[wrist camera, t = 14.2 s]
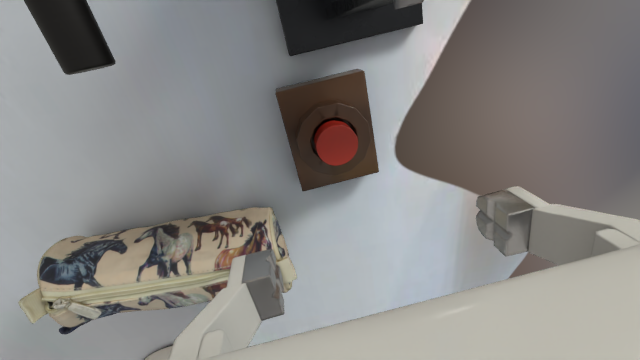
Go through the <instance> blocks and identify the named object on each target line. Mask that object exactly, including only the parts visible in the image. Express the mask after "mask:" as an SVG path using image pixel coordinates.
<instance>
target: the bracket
mask: <svg viewBox="0 0 640 360" xmlns="http://www.w3.org/2000/svg"><path fill="white" fill-rule="evenodd" d="M423 1H424V0H276V3H277V7H278V11H279V15H280V19H281V23H282V27H283V31H284V36H285V40H286V44H287V48H288V52H289V55H290V56H292V55H297V54H301V53H305V52H309V51H313V50H317V49H321V48H325V47H329V46H333V45H337V44H342V43H346V42H350V41H354V40H358V39H362V38H366V37H370V36H374V35H378V34H383V33H387V32H391V31H395V30H399V29H403V28H407V27H411V26H415V25H419V24H423V16H422V2H423Z"/></svg>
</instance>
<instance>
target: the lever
mask: <svg viewBox="0 0 640 360" xmlns="http://www.w3.org/2000/svg"><path fill="white" fill-rule="evenodd" d="M24 1H25V3H26V5H27V7H28V9H29V10H30V12H31V14H32V16H33V18H34V19H35V21H36V23H37V25H38V27H39V28H40V30H41V32H42V34H43V36H44V37H45V39H46V41H47V43H48V45H49V46H50V48H51V50H52V52H53V54H54V55H55V57H56V59H57V61H58V63H59V64H60V66H61V68H62V70H63V72H64V73H65V74H68V75H71V74H77V73H82V72H87V71H91V70H96V69H100V68H104V67H108V66H112V65H114V64H115V59H114V57H113V55H112V53H111V51H110V49H109V47H108V45H107V43H106V41H105V38H104V36H103V34H102V32H101V30H100V28H99V26H98V24H97V22H96V20H95V18H94V15H93V13H92V11H91V9H90V7H89V5H88V3H87V1H86V0H24Z"/></svg>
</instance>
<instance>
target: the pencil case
mask: <svg viewBox="0 0 640 360" xmlns="http://www.w3.org/2000/svg"><path fill="white" fill-rule="evenodd" d="M268 249H273V250H274V253H275V256H276V265H278V266H279V267H280V270H281V274H282V278H283V284H284V291H283V293H286V292H288V291H289V290H290V289H291V287H292V281H293V280H296V279H297V276H296V272H295V269H294V266H293V264H292V262H291V260H290V258H289V254H288V250H287V247H286V243H285V240H284V237H283V235H282V232H281V229H280V227H279V224H278V221H277V219H276V218H275V215H274V212H273V209H272V208H271V207H268V208H257V207H253V208H246V209H240V210H234V211H229V212H222V213H217V214H213V215H209V216H203V217H197V218H188V219H181V220H176V221H171V222H167V223H163V224H159V225H155V226H151V227H141V228H134V229H128V230H123V231H118V232H113V233H109V234H105V235H97V236H91V237H84V236H73V237H69V238H65V239H63V240H61V241H59V242H57V243H56V244H54V245H53V246H52V247H50V248H49V249H48V250H47V251H46V252H45V253H44V255H43V256H42V258H41V260H40V262H39V265H38V271H37V278H38V284H39V287H40V288H39V289H36V290H35V291H33V292H31V293H30V294H28V295H27V296H25V297H24V298H22V299H21V300H20V301H19V302H18V303H19V305H20V307H21V309H22V310H23V311H24V312H25V314H26V316H27V317H28V319H29V321H30V322H31V323H32V324H33V323H35V322H36V321H37V320H38V319H39V318H41V317H42V316H44V315H46V314H47V313H49V316H50V317H52V318H53V319H54V320H55V321H56V322H57V323H58V324H60V325H62V326H63V327H62V328H60V329H59V332H60V333H61V334H68V333H71V332H72V331H74V330H75V329H76V328H78V327H79V326H81V325H83V324H85V323H87V322H89V321H91V320H94V319H97V318H101V317H105V316H110V315H113V314H116V313H121V312H130V311H141V310H159V309H169V308H176V307H183V306H188V305H193V304H197V303H203V302H208V301H212V299H213V298H214V297H215V296H216V295H217V294H218V293H219V292H220V291H221V290H222V289H224V288H226V287H227V282H228V277H229V273H230V268H231V263H232V260H233V258H235V257H239V256H243V255H247V254H251V253H255V252H260V251H264V250H268Z"/></svg>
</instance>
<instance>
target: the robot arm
mask: <svg viewBox="0 0 640 360" xmlns="http://www.w3.org/2000/svg"><path fill="white" fill-rule="evenodd" d="M476 206H477V207H478V208H479V209H480V211H479V212H478V214H477V215H476V223H477V226H478V229H479V231H480V232H481V234H482V235H483V236H484V237H485V238H486V239H489V240H492V241H494V246H495V247H496V248H497V249H498V250H499V251H500V252H501V253H502V254H503V255H504V256H505V257H506V256H510V255H514V254H519V253H523V252H527V251H528V252H529V253H531V254H533V255H536V256H538V257H540V258H543V259H545V260H548V261H550V262H552V263H555V264H557V265H559V266H555V267H552V268H548V269H544V270H540V271H537V272H532V273H529V274H525V275H521V276H518V277H514V278H510V279H506V280H502V281H498V282H494V283H491V284H487V285H483V286H479V287H475V288H471V289H468V290H464V291H460V292H456V293H453V294H449V295H445V296H441V297H437V298H434V299H430V300H426V301H422V302H418V303H414V304H411V305H407V306H403V307H399V308H395V309H392V310H388V311H384V312H380V313H376V314H373V315H369V316H365V317H361V318H357V319H353V320H350V321H346V322H342V323H338V324H334V325H331V326H327V327H323V328H319V329H315V330H312V331H308V332H304V333H300V334H296V335H292V336H289V337H285V338H281V339H277V340H273V341H270V342H266V343H262V344H258V345H254V346H250V347H248V345H249V344H250V342H251V340H252V338H253V337H254V335H255V333H256V331H257V330H258V328H259V326H260V324H261V322H262V320H266V319H269V318H273V317H276V316H280V315H283V314H284V298H283V295H282V293H283V291H284V284H283V278H282V274H281V270H280V267H279V266H278V265H276V256H275V253H274V250H273V249H268V250H264V251H260V252H255V253H251V254H247V255H243V256H239V257H235V258H233V260H232V263H231V268H230V273H229V277H228V282H227V287H226V288H224V289H222V290H221V291H220V292H219V293H218V294H217V295H216V296H215V297H214V298H213V299H212V301H211V302H210V303H209V304H208V305H207V306H206V307H205V308H204V309H203V310H202V311H201V312H200V313H199V314H198V315H197V316H196V318H195V319H194V320H193V321H192V322H191V323H190V324H189V325H188V326H187V327H186V328H185V329H184V330H183V331H182V332H181V334H180V335H179V336H178V337H177V338H176V339H175V340H174V343H173V346H170V347H166V348H163V349H161V350H158V351H156V352H154V353H153V354H151V355H149V356H148V357H147V358H145V359H144V360H640V220H637V219H632V218H627V217H622V216H616V215H611V214H606V213H601V212H596V211H590V210H585V209H580V208H575V207H569V206H563V205H559V204H551V205H550V204H548V203H547V202H545V201H543V200H541V199H540V198H538V197H536V196H535V195H533V194H531V193H530V192H528V191H526V190H525V189H523V188H521V187H518V186H514V187H510V188H507V189H504V190H501V191H497V192H494V193H490V194H486V195H482V196H479V197H478V198H477V201H476Z"/></svg>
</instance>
